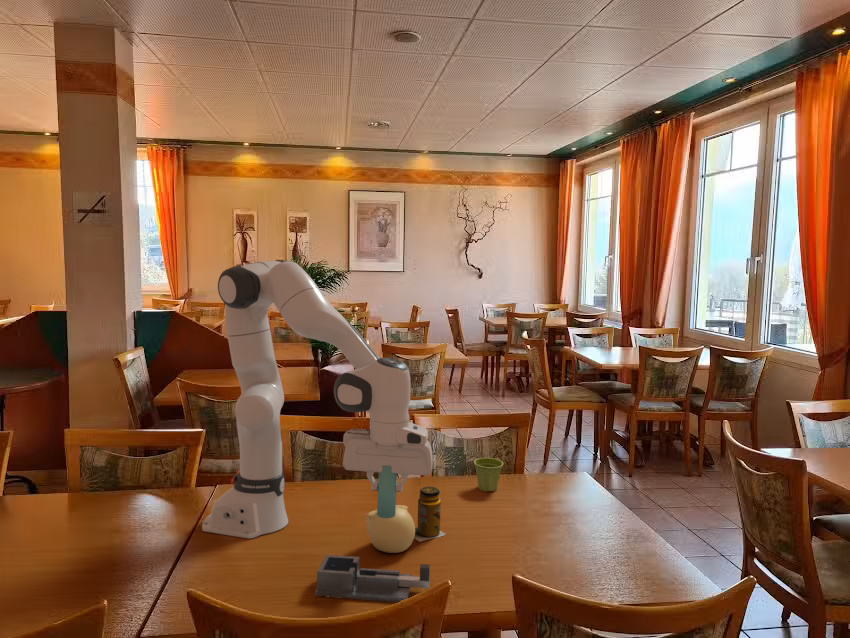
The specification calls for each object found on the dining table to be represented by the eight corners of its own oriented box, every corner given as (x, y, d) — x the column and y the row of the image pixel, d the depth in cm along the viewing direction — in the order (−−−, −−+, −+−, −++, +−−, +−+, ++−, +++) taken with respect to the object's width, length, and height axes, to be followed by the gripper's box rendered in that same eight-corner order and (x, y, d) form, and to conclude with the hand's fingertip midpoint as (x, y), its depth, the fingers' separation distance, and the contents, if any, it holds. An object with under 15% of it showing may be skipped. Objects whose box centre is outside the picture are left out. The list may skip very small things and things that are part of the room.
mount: (412, 578, 142) (412, 557, 141) (407, 602, 132) (407, 580, 131) (326, 573, 143) (326, 552, 143) (315, 596, 133) (315, 574, 133)
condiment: (446, 535, 165) (447, 491, 163) (419, 542, 160) (420, 497, 159) (431, 525, 171) (432, 482, 170) (405, 531, 166) (405, 488, 165)
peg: (375, 517, 139) (377, 465, 138) (378, 510, 143) (380, 459, 142) (394, 518, 139) (396, 466, 138) (396, 511, 143) (398, 460, 142)
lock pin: (429, 584, 137) (429, 564, 137) (428, 588, 135) (429, 568, 135) (375, 581, 138) (375, 561, 138) (374, 584, 136) (374, 564, 136)
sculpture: (398, 533, 165) (399, 494, 164) (422, 551, 155) (423, 509, 154) (360, 542, 159) (360, 502, 158) (382, 562, 149) (383, 519, 148)
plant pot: (506, 486, 201) (507, 460, 200) (497, 496, 192) (498, 469, 192) (478, 481, 205) (479, 456, 204) (469, 491, 196) (469, 464, 195)
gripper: (340, 431, 137) (338, 492, 138) (433, 437, 135) (430, 499, 137) (346, 424, 143) (344, 482, 144) (434, 430, 142) (431, 488, 143)
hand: (386, 490), depth 141 cm, fingers closed on peg, 4 cm apart
